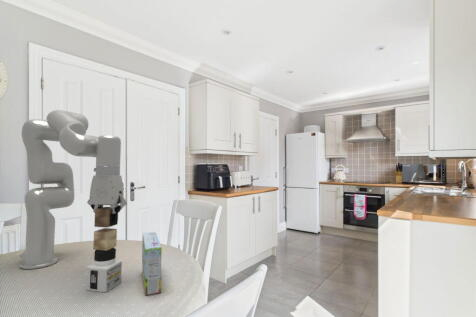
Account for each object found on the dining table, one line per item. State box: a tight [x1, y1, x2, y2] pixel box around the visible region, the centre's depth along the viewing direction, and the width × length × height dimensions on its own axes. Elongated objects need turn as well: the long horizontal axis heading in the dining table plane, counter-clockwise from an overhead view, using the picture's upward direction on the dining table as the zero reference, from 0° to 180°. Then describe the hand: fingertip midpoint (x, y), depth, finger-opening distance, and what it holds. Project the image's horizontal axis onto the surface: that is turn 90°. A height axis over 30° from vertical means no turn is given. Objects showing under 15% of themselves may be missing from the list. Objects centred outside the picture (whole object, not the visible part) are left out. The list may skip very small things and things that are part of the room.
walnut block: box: [93, 206, 118, 228], centre depth 87 cm, size 5×5×6 cm
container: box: [85, 247, 123, 293], centre depth 87 cm, size 8×8×13 cm
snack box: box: [141, 231, 163, 297], centre depth 91 cm, size 21×6×15 cm, turn 23°
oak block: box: [93, 227, 118, 251], centre depth 87 cm, size 5×5×6 cm
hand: (106, 223), depth 87 cm, fingers closed on walnut block, 5 cm apart
